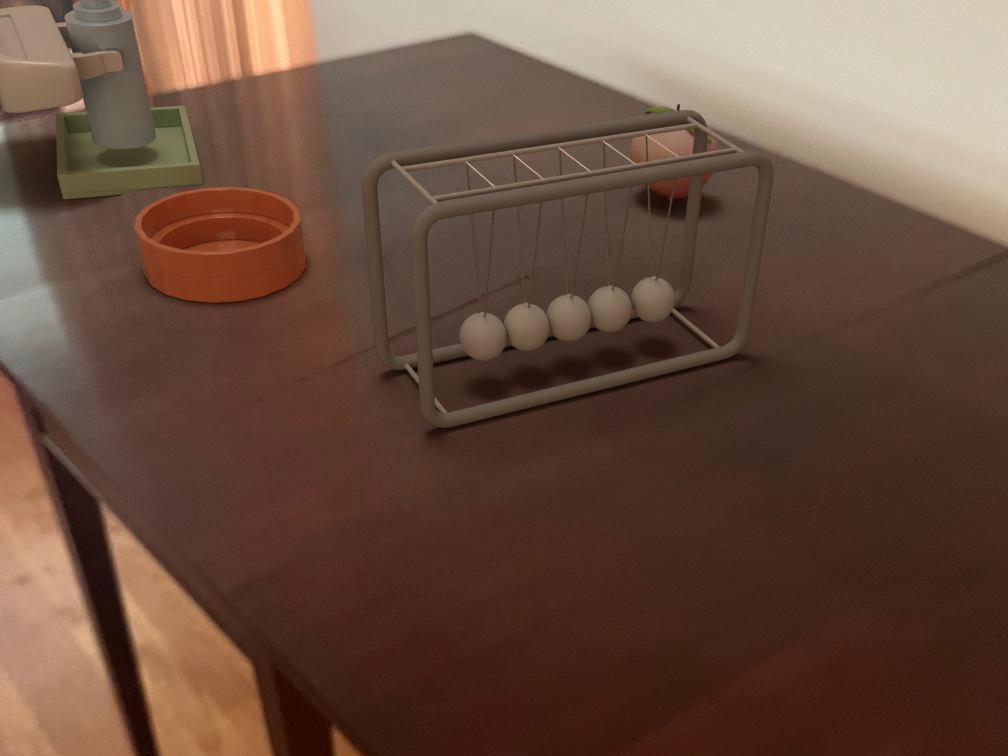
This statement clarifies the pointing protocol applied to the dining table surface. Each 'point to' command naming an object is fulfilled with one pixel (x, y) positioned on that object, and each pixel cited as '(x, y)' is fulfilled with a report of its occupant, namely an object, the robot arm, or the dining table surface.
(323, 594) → the dining table surface
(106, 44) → the bottle
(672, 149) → the decorative fruit
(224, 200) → the bowl
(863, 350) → the dining table surface
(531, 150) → the newton's cradle
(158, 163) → the tray
